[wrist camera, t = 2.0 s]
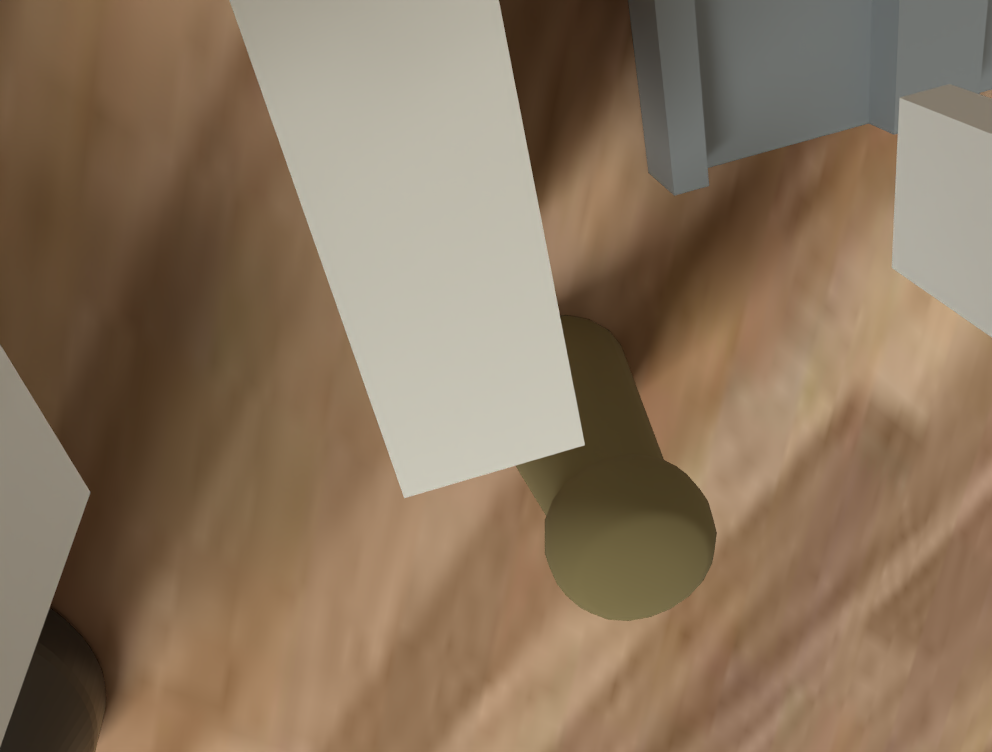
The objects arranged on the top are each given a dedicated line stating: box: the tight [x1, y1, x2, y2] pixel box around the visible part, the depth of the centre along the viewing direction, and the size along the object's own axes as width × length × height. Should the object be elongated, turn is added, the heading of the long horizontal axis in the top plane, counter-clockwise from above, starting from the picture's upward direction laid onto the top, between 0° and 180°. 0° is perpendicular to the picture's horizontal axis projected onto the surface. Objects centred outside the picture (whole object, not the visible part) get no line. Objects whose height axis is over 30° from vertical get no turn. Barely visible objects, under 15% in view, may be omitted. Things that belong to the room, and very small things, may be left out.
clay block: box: [230, 0, 585, 498], centre depth 22 cm, size 4×14×12 cm, turn 12°
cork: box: [516, 315, 717, 621], centre depth 29 cm, size 6×6×11 cm
